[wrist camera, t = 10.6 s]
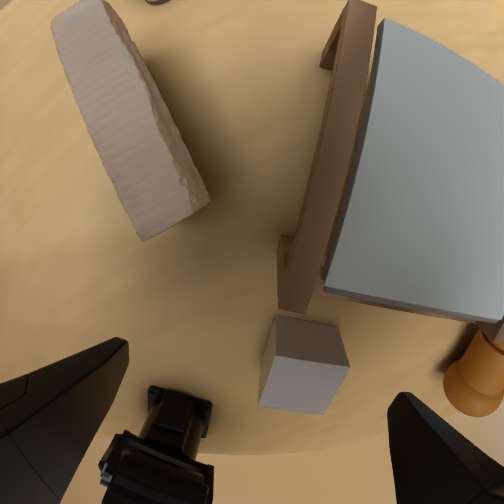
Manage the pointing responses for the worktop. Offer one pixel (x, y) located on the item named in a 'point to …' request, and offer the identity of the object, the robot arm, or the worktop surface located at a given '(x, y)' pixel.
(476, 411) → the ornamental finial
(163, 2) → the lighter
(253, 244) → the worktop surface
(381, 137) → the trapdoor
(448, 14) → the worktop surface
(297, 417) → the worktop surface
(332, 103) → the stand
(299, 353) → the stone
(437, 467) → the robot arm
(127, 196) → the grey block
